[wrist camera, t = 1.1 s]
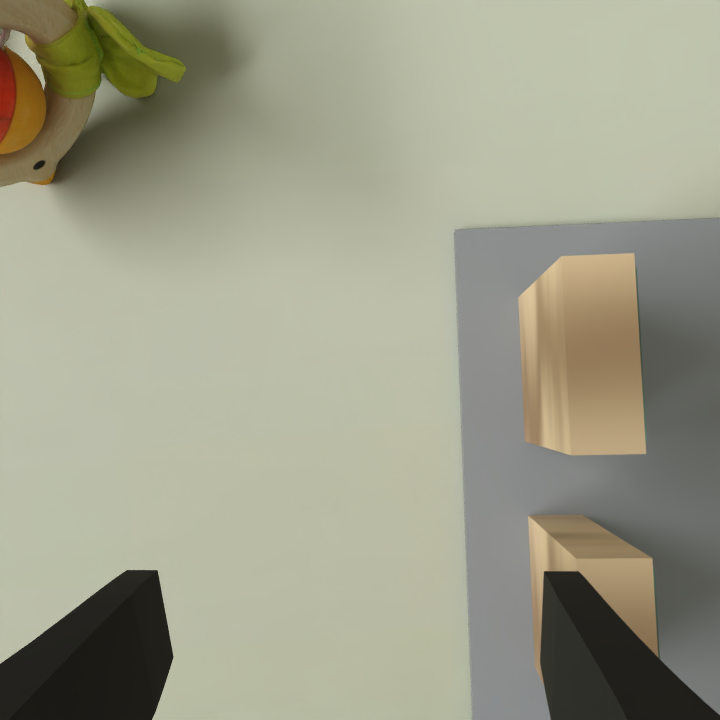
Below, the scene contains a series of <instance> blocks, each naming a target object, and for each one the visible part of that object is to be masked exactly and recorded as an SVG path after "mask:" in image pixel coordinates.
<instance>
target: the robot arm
mask: <svg viewBox="0 0 720 720" xmlns="http://www.w3.org/2000/svg"><path fill="white" fill-rule="evenodd" d="M172 660H173V652H172V647H171V641H170V636H169V630H168V625H167V619H166V614H165V608H164V603H163V598H162V592H161V587H160V581H159V576H158V570H127V571H125V572H124V573H122V574H121V575H119V576H118V577H116V578H115V579H114V580H112V581H111V582H110V583H108V584H107V585H105V586H104V587H103V588H101V589H100V590H99V591H98V592H96V593H95V594H94V595H92V596H91V597H90V598H88V599H87V600H86V601H84V602H83V603H82V604H81V605H79V606H78V607H77V608H75V609H74V610H73V611H72V612H70V613H69V614H68V615H66V616H65V617H64V618H62V619H61V620H60V621H58V622H57V623H56V624H54V625H53V626H52V627H50V628H49V629H48V630H46V631H45V632H44V633H42V634H41V635H40V636H39V637H37V638H36V639H35V640H33V641H32V642H31V643H29V644H28V645H26V646H25V647H24V648H22V649H21V650H19V651H18V652H16V653H15V654H14V655H12V656H11V657H9V658H8V659H6V660H5V661H4V662H2V663H1V664H0V720H152V718H153V716H154V714H155V712H156V709H157V706H158V703H159V700H160V697H161V694H162V691H163V688H164V685H165V682H166V679H167V676H168V673H169V670H170V666H171V663H172ZM540 665H541V671H542V676H543V682H544V687H545V693H546V698H547V703H548V708H549V713H550V718H551V720H720V715H719V714H718V713H717V712H716V711H714V710H713V709H712V708H711V707H710V706H709V705H708V704H706V703H705V702H704V701H703V700H702V699H701V698H700V697H699V696H698V695H697V694H696V693H695V692H694V691H692V690H691V689H690V688H689V687H688V686H687V685H686V684H685V683H684V682H683V681H682V680H681V679H680V678H679V677H678V676H677V675H676V674H674V673H673V672H672V671H671V670H670V669H669V668H668V667H667V666H666V665H665V664H664V663H663V662H662V661H661V660H660V659H659V658H658V657H657V656H656V655H655V653H654V652H653V651H652V650H651V649H650V648H649V647H648V646H647V645H646V644H645V643H644V642H643V641H642V640H641V639H640V638H639V637H638V636H637V635H636V634H635V633H634V632H633V631H632V630H631V629H630V627H629V626H628V625H627V624H626V623H625V622H624V621H623V620H622V619H621V618H620V617H619V615H618V614H617V613H616V612H615V611H614V610H613V609H612V608H611V607H610V605H609V604H608V603H607V602H606V601H605V600H604V599H603V598H602V596H601V595H600V594H599V593H598V592H597V591H596V590H595V588H594V587H593V586H592V585H591V584H590V583H589V582H588V580H587V579H586V578H585V577H584V576H583V575H582V574H581V573H580V572H579V571H544V578H543V603H542V627H541V651H540Z"/></svg>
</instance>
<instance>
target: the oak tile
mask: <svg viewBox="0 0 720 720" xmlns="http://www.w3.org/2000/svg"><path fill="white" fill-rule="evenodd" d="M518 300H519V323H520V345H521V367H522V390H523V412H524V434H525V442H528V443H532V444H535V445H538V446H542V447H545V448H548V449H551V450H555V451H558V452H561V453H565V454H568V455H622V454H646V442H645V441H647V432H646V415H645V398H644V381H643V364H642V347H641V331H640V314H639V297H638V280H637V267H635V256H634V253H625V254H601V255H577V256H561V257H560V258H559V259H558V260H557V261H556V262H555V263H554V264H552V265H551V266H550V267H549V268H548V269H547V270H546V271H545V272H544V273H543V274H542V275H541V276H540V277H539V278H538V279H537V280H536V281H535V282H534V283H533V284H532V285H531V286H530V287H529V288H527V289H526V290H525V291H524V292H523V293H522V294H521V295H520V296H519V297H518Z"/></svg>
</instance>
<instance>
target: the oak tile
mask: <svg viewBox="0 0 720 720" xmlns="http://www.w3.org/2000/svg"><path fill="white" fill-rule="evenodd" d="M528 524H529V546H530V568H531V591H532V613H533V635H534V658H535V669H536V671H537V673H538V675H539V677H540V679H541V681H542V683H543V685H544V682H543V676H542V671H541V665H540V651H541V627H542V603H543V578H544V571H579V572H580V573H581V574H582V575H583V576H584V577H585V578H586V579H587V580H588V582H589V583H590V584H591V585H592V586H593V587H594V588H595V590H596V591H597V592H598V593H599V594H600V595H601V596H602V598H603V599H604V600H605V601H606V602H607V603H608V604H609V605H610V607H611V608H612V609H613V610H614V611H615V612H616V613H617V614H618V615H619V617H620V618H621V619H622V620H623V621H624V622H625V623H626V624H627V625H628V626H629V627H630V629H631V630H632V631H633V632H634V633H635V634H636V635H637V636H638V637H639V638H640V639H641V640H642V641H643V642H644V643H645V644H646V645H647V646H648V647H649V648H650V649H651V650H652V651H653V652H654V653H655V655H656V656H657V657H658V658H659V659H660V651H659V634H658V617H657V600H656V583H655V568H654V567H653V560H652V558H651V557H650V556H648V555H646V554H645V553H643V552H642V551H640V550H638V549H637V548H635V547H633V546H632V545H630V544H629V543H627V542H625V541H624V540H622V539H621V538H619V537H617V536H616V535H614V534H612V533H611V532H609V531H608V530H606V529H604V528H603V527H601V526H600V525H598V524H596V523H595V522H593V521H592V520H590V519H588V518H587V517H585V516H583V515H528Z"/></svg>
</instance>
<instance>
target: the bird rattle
mask: <svg viewBox="0 0 720 720" xmlns="http://www.w3.org/2000/svg"><path fill="white" fill-rule="evenodd" d="M0 28H4V29H3V31H2V33H1V36H0V187H2V186H7V185H11V184H15V183H18V182H29V183H33V184H40V185H47V184H49V183H50V182H51V181H52V179H53V178H54V175H55V171H56V167H57V164H58V162H59V160H60V159H61V158H62V157H63V156H64V155H65V154H66V153H67V152H68V150H69V149H70V148H71V147H72V145H73V144H74V143H75V141H76V140H77V138H78V137H79V135H80V134H81V132H82V130H83V128H84V126H85V124H86V122H87V120H88V117H89V115H90V112H91V109H92V106H93V103H94V99H95V93H96V90H97V89H98V87H99V86H100V83H101V73H104V74H105V76H106V78H107V79H108V80H109V81H110V83H111V84H112V85H113V86H114V87H116V88H117V89H118V90H119V91H120V92H121V93H123V94H124V95H126V96H129V97H133V98H141V97H147V96H150V95H152V94H153V93H154V91H155V89H156V86H157V75H158V76H162V77H164V78H166V79H168V80H170V81H173V82H179V81H180V80H181V78H182V77H183V75H184V73H185V71H186V67H185V66H184V64H183V63H182V62H181V61H179V60H178V59H175V58H173V57H170V56H167V55H164V54H162V53H159V52H157V51H154V50H151V49H148V48H146V47H144V46H143V45H142V44H141V43H140V42H139V41H138V40H137V39H136V38H135V37H134V36H133V35H132V34H131V33H130V32H129V30H128V29H127V28H126V27H125V26H124V25H123V24H122V23H120V22H119V21H118V20H117V19H116V18H115V17H114V16H113V15H112V14H111V13H110V12H109V11H107V10H105V9H102V8H100V7H96V6H90V7H87V5H86V3H85V1H84V0H0ZM11 29H12V30H16V31H19V32H22V33H24V34H25V42H26V44H27V46H28V47H29V48H30V49H31V50H32V51H33V52H34V53H35V54H36V59H37V61H38V62H39V64H41V68H42V71H43V75H44V79H45V88H44V91H43V88H42V85H41V82H40V80H39V79H38V77H37V75H36V74H35V72H34V71H33V70H32V68H31V67H30V66H29V65H28V64H27V63H26V62H25V61H24V60H23V59H22V58H21V57H20V56H19V55H18V54H16V53H15V52H13V51H11V50H10V49H9V48H7V47H5V46H4V43H5V42H6V40H7V39H8V38H9V35H10V31H11Z"/></svg>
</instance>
